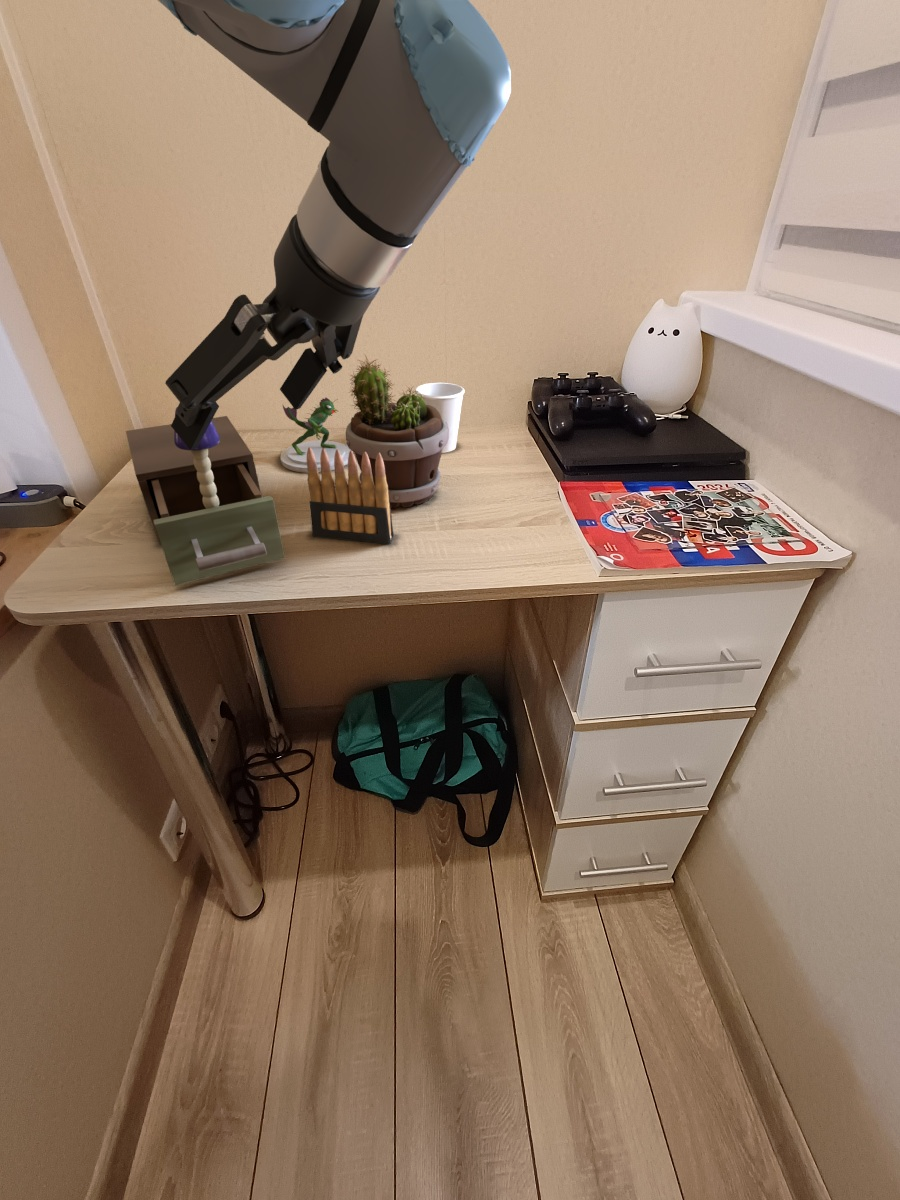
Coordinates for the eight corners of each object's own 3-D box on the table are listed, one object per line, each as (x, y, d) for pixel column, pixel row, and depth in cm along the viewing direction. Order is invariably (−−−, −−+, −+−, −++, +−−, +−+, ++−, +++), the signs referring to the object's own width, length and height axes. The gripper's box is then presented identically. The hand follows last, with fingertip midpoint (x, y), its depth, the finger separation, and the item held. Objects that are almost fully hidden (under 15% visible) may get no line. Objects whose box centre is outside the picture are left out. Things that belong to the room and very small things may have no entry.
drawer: (298, 582, 66) (287, 521, 61) (182, 613, 61) (160, 550, 56) (255, 506, 81) (243, 452, 76) (159, 526, 76) (140, 470, 71)
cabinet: (266, 521, 79) (252, 453, 73) (159, 545, 74) (135, 474, 68) (240, 476, 91) (226, 415, 85) (147, 494, 86) (125, 430, 80)
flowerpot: (455, 475, 92) (456, 342, 80) (439, 520, 79) (438, 371, 68) (367, 470, 93) (356, 338, 82) (339, 513, 81) (320, 365, 69)
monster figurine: (345, 473, 92) (338, 409, 86) (272, 472, 93) (260, 408, 87) (358, 445, 102) (352, 387, 96) (291, 444, 102) (282, 385, 96)
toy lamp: (226, 529, 73) (192, 397, 63) (251, 540, 71) (220, 404, 61) (195, 545, 70) (154, 408, 60) (220, 557, 68) (182, 417, 58)
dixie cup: (443, 459, 97) (443, 400, 91) (406, 447, 101) (404, 390, 95) (472, 445, 102) (474, 388, 96) (437, 434, 106) (436, 379, 101)
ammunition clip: (394, 537, 76) (388, 450, 69) (390, 544, 74) (384, 456, 67) (317, 529, 77) (304, 443, 70) (312, 536, 76) (298, 449, 69)
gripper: (407, 201, 50) (304, 358, 65) (159, 209, 33) (97, 420, 48) (458, 274, 51) (345, 413, 66) (242, 320, 34) (156, 493, 49)
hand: (241, 416), depth 57 cm, fingers open, 13 cm apart
